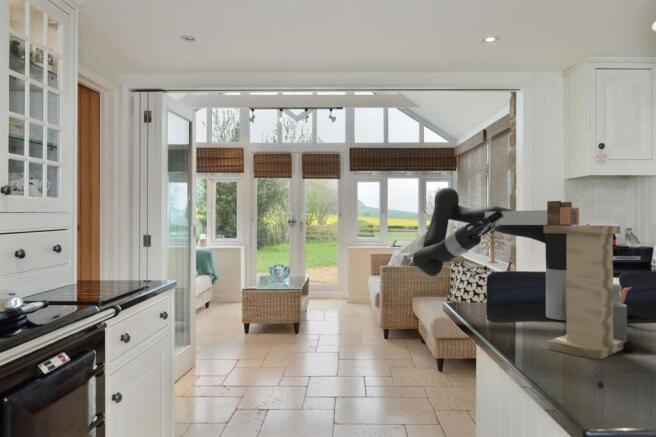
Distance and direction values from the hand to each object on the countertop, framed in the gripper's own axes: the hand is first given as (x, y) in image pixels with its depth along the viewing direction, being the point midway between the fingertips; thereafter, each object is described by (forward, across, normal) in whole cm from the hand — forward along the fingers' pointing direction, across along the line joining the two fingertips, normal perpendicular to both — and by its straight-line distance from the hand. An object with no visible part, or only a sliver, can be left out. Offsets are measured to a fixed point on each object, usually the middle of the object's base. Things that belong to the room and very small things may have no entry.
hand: (504, 213), depth 132 cm
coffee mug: (0, +18, +41) cm, 45 cm away
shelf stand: (+1, 0, +42) cm, 42 cm away
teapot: (-14, +60, +33) cm, 70 cm away
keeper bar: (+4, 0, +6) cm, 8 cm away
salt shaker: (-5, +44, +38) cm, 59 cm away
